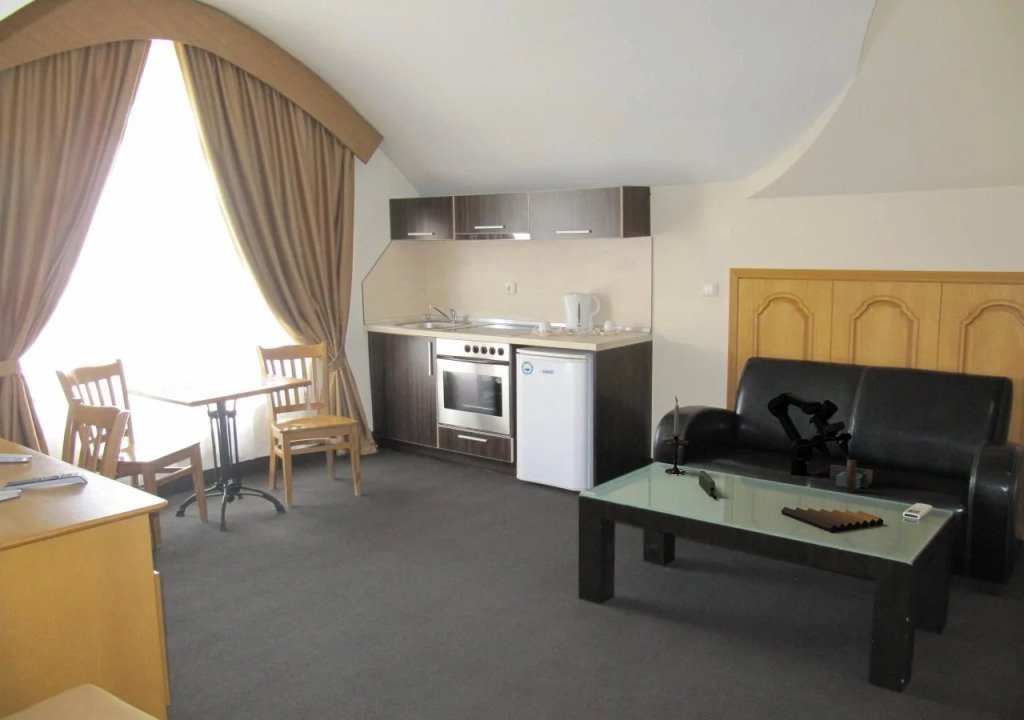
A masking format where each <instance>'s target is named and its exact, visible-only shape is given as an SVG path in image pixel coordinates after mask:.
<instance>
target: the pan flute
mask: <svg viewBox="0 0 1024 720" xmlns="http://www.w3.org/2000/svg"><path fill="white" fill-rule="evenodd" d="M780 512H781V515H782V516H785V517H788V518H790V519H793V520H796V521H798V522H801V523H803V524H807V525H810V526H812V527H814V528H818V529H820V530H822V531H825V532H828V533H831V534H832V533H833V534H834V533H837V532H839V533H840V532H845V531H853V530H859V529H865V528H866V529H867V528H868V527H869V528H873V527H877V526H878V527H879V526H883V524H884V519H882V518H881V517H879V516H877V515H874V514H870V513H867V512H864V511H861V510H858V511H857V512H853V511H851V510H848V509H846V510H845V511H844V512H843V511H840V510H837V509H835V508H834V509H833V510H832V511H830V510H827V509H824V508H821V509H819V510H816V509H814V508H811V507H809V508H808V509H803V508H800V507H796V508H795V509H793V508H790V507H787V506H784V507H783V508H782V509H781V510H780Z"/></svg>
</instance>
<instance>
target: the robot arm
mask: <svg viewBox="0 0 1024 720" xmlns="http://www.w3.org/2000/svg"><path fill="white" fill-rule="evenodd" d="M791 405H792V406H794V407H796V408H799V409H800V410H801V412H802V413H803V414H805V415H807V416H809V415H810V416H811V417H810V418H809V420H808V421H809V422H808V423H809V425H810V424H813V425H814V427H815V429H816V432H815V433H816V434H814V435H813V436H812V437H811V438H810V439H808V438H802V436H801V434H800V433H799V431H798V428H797V427H796V426H795V424H794V422H793V420H792V418H791V417H790V415H789V407H790V406H791ZM766 406H767V410H768V412H769V413H770V414H771V415H772V416H773V417H775V419H778V421H779V424H780V425H781V427H782V428H783V430H784V432H785V434H786V435H787V437H788V439H789V441H790V444H791V446H790V447H791V448H790V450H791V452H789V453H788V455H787V457H788V458H787V459H788V460H789V461H791V467H790V471H791V472H790V473H789V474H790V475H796V476H803V477H804V476H806V475H808V474H809V470H810V468H809V465H810V464H809V462H810V461H811V460H812V458H813V454H814V449H815V450H817V451H819V452H820V453H822V455H825V456H826V457H827V458H831V457H832V455H831V452H830V450H829V448H828V446H827V443H832V442H836V444H837V445H838V448H839V449H840V450H841V451H842V452H843V454H845V456H846V457H849V455H850V451H849V442H850V441H851V440H852V438H853V436H852V434H851V432H841V431H843V430H845V428H846V425H845V423H844V421H838V422H832V423H830V422H829V420H831V419H832V418H833V416H834V415H836V413H837V412H838V411H839V408H838V406H837V405H836V404H835V403H834V402H832V401H830V399H825V400H824V401H823V403H821V402H820V401H818V400H811V399H809V400H808V399H806V398H803V397H802V396H798V395H796V394H794V393H793V392H782V393H780V394H779V395H777V396H775V397H773V398H772V399H771V400H769V401H768V403H767V405H766ZM839 432H841V433H840V434H839ZM838 434H839V435H838ZM837 435H838V436H837ZM807 473H808V474H807Z"/></svg>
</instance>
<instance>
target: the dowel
mask: <svg viewBox="0 0 1024 720" xmlns="http://www.w3.org/2000/svg"><path fill="white" fill-rule="evenodd" d="M857 462H858V461H857V460H856V459H847V463H846V467H847V479H846V487H845V491H846V492H847V493H850V494H851V493H855V492H856V488H855V487H856V468H857Z"/></svg>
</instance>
